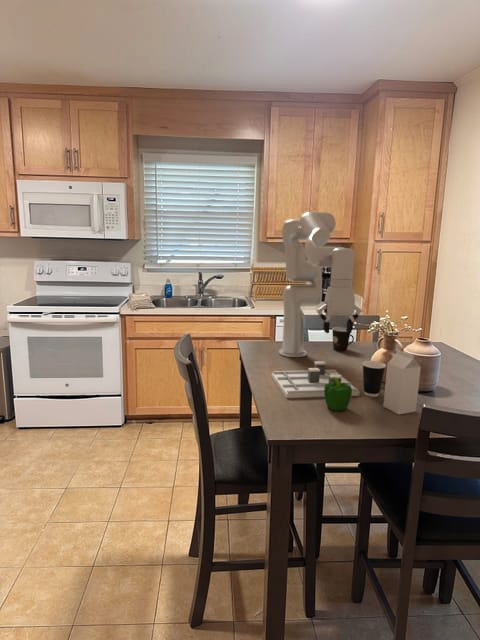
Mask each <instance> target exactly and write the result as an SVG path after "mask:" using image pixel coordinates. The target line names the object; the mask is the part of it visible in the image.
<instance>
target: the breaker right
mask: <svg viewBox="0 0 480 640" xmlns="http://www.w3.org/2000/svg"><path fill="white" fill-rule="evenodd" d="M340 375H341V374H340ZM340 375H329V383H330V382H335V383H336V381H335V380H332V377H336V378H337V379H338V380H339V383H341V376H340Z"/></svg>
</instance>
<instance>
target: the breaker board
mask: <svg viewBox="0 0 480 640" xmlns="http://www.w3.org/2000/svg"><path fill="white" fill-rule="evenodd" d="M329 375H340V376H341V383H346V384H347V385H348V386H351V389H352V393H351V397H354V396H355V397H357V396H360V390H359V388H357V387H355V386H354V385H352V383H351V382H350V381H348V380H347V379H346V378H344V377H343V375H342V374H340V373H339V372H337V370H336V369H325V375H320V377H319V382H309V381H308V369H307V370H278V371H277V370H273V371H272V373H271V378H272V379H273V381H274V383H276V385H277V387H278V388H279V390H280V391H281V393H282V394H283V395H284V396H285V398H286V399H298V398H299V399H300V398H322V397H323V398H325V395H324V386H325V385H326V383H329Z"/></svg>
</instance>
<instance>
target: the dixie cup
mask: <svg viewBox="0 0 480 640" xmlns="http://www.w3.org/2000/svg"><path fill="white" fill-rule="evenodd" d="M361 365H362V373H363V374H362V375H363V376H362V377H363V381H362V382H363V392H364V393H363V394H364V395H365V396H368V397H378V396H379V394H380V393H381V388H382V383H383V377H384V373H385V370H386V368H387V364H386V363H385V362H380V361H377V360H376V361H375V360H364V361H363V362H362V364H361Z"/></svg>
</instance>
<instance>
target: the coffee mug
mask: <svg viewBox="0 0 480 640" xmlns="http://www.w3.org/2000/svg"><path fill="white" fill-rule="evenodd" d="M346 328H347V327H336V326H335V327H332V328H331V329H332V349H333V351H336V352H339V353H341V352H347V351H348V346H350V345H351V344H353V342H354V340H355V337H354V336H353V335H352V333H349V332H347V331H346ZM350 337H351V338H352V340H351V342H350V341H349V340H350ZM349 342H350V343H349Z"/></svg>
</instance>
